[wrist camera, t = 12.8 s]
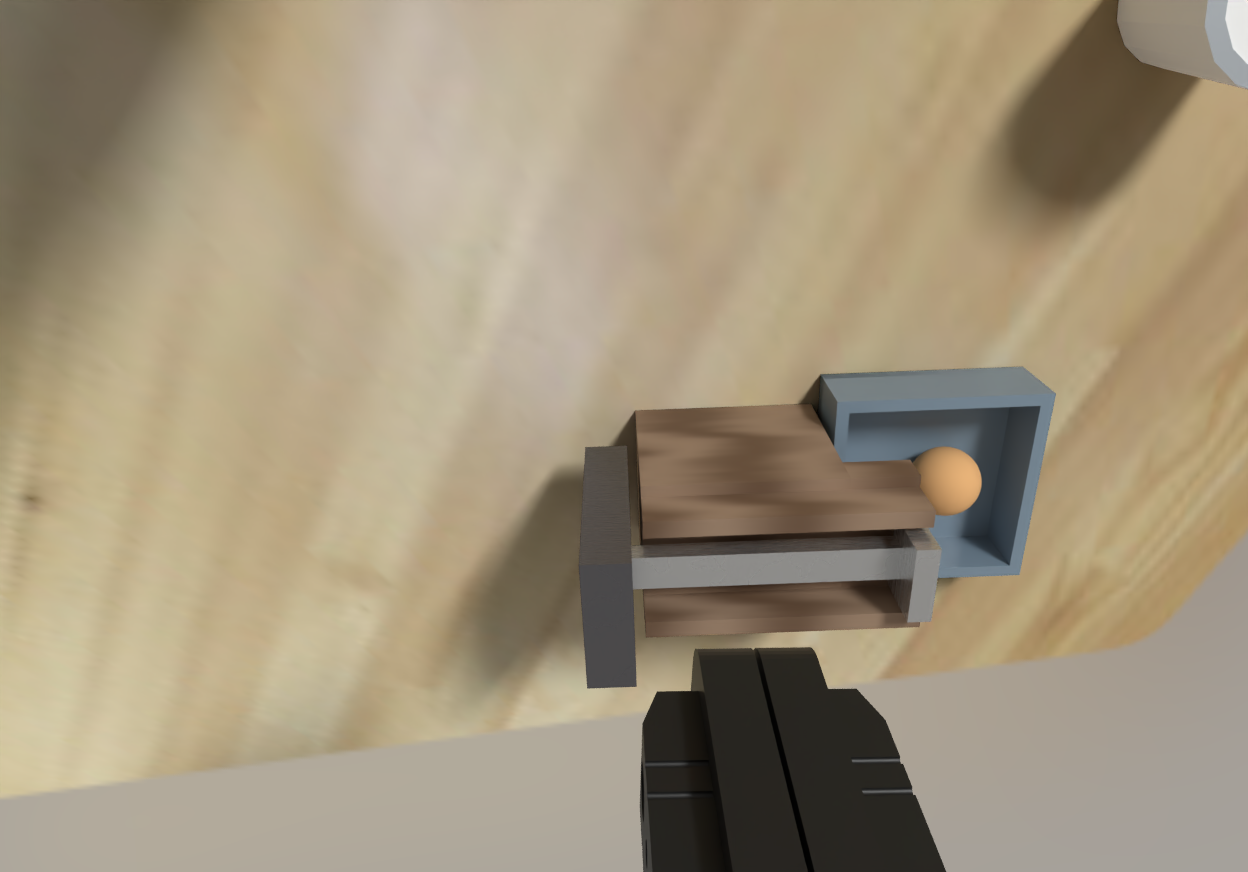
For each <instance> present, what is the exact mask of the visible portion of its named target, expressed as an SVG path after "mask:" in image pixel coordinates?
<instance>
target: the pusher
mask: <svg viewBox="0 0 1248 872" xmlns="http://www.w3.org/2000/svg"><path fill="white" fill-rule="evenodd" d="M941 552H942V549H941V547H940V546H939V544H938V543H937V541H936V540H935V538H934V536H933V535H932V533H931V532H930V530H929V529H928V528H911V529H894V534H893V536H867V537H841V538H815V539H789V540H763V541H737V542H711V543H685V544H659V545H633V546H631V529H630V506H629V483H628V460H627V446H607V447H585V465H584V483H583V501H582V519H581V537H580V555H579V574H580V588H581V603H582V617H583V632H584V646H585V660H586V675H587V688H611V687H637V685H636V658H635V631H634V604H633V589H655V588H681V587H707V586H733V585H759V584H786V583H812V582H838V581H864V580H888V585H889V587H890V589H891V591H892V593H893V595H894V597H895V599H896V601H897V603H898V605H899V607H900V609H901V611H902V613H903V615H904V617H905V619H906V621H907V622H931V618H932V612H933V605H934V598H935V592H936V585H937V579H938V572H939V566H940V559H941Z"/></svg>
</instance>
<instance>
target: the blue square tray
mask: <svg viewBox="0 0 1248 872" xmlns="http://www.w3.org/2000/svg"><path fill="white" fill-rule="evenodd" d="M1055 396H1056V393H1055V392H1053V391H1052V390H1051V389H1050V388H1048V387H1047V386H1046V385H1045V384H1044V383H1042V382H1041V381H1040V380H1039V379H1037V378H1036V377H1035V376H1034V375H1032V374H1031V373H1030V372H1029V371H1027V370H1026V369H1025V368H1024V367H1002V368H976V369H950V370H924V371H898V372H873V373H847V374H821V377H820V391H819V405H818V418H819V420H820V422H821V424H822V425H823V427H824V429H825V431H826V433H827V435H828V437H829V438H830V440H831V442H832V444H833V446H834V448H835V449H836V451H837V453H838V455H839V457H840V459H841V461H842V462H864V461H890V460H911V462H912V463H913V462H914V460H915V459H916V458H917V457H918V456H919V455H920V454H922V453H923V452H925V451H927V450H929V449H932V448H935V447H944V446H946V447H953V448H956V449H959V450H961V451H963V452H965V453H966V454H968V455H969V456H970V457H971V458H972V459H973V460H974V461H975V463H976V464H977V466H978V468H979V470H980V473H981V478H982V485H981V490H980V493H979V496H978V498H977V499H976V501H975V502H974V503H973V504H972V505H971V506H970V507H969V508H968V509H967V510H965V511H963V512H961V513H958V514H955V515H950V516H941V515H936V516H935V523H934V528H928V529H929V530H930V532H931V533H932V535H933V536H934V538H935V540H936V541H937V543H938V544H939V546H940V547H941V549H942V552H941V559H940V566H939V572H938V578H950V577H976V576H1002V575H1019V574H1020V569H1021V564H1022V559H1023V554H1024V549H1025V544H1026V539H1027V534H1028V529H1029V524H1030V520H1031V515H1032V510H1033V505H1034V500H1035V495H1036V490H1037V485H1038V480H1039V475H1040V470H1041V465H1042V460H1043V455H1044V450H1045V445H1046V440H1047V435H1048V430H1049V426H1050V421H1051V416H1052V411H1053V406H1054V401H1055Z"/></svg>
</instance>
